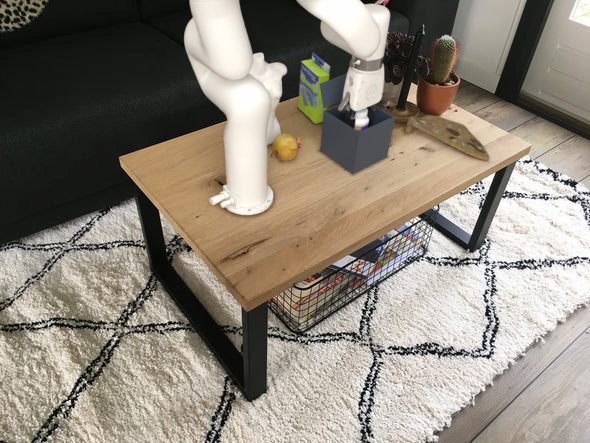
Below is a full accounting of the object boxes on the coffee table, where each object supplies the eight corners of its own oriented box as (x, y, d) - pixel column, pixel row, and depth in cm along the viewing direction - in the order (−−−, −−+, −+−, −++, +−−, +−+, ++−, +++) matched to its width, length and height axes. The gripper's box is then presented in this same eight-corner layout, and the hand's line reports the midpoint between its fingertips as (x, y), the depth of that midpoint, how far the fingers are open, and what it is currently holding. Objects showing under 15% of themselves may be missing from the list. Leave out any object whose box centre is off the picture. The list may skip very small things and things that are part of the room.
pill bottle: (349, 148, 132) (353, 116, 125) (342, 137, 135) (346, 105, 129) (368, 146, 133) (373, 114, 126) (361, 134, 137) (366, 103, 130)
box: (297, 108, 154) (300, 54, 142) (309, 105, 155) (312, 51, 143) (314, 125, 147) (319, 69, 135) (326, 121, 148) (332, 66, 137)
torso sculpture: (240, 159, 133) (236, 71, 116) (222, 141, 139) (216, 55, 122) (296, 139, 141) (300, 54, 124) (276, 123, 147) (278, 40, 130)
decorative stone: (401, 132, 145) (407, 117, 142) (423, 118, 155) (430, 104, 152) (478, 175, 136) (487, 159, 133) (497, 157, 146) (505, 142, 143)
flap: (320, 83, 125) (319, 83, 126) (324, 108, 128) (323, 108, 129) (357, 70, 132) (356, 70, 132) (360, 93, 135) (359, 93, 135)
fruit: (278, 153, 126) (310, 140, 130) (264, 134, 129) (295, 123, 133) (274, 170, 132) (305, 158, 136) (261, 152, 134) (291, 140, 139)
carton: (353, 174, 130) (359, 133, 122) (320, 150, 137) (323, 110, 129) (387, 156, 137) (395, 116, 128) (353, 135, 144) (359, 96, 135)
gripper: (351, 76, 112) (343, 144, 125) (402, 57, 121) (390, 122, 133) (329, 64, 117) (323, 130, 129) (380, 46, 125) (370, 110, 137)
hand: (357, 125), depth 131 cm, fingers closed on pill bottle, 5 cm apart
